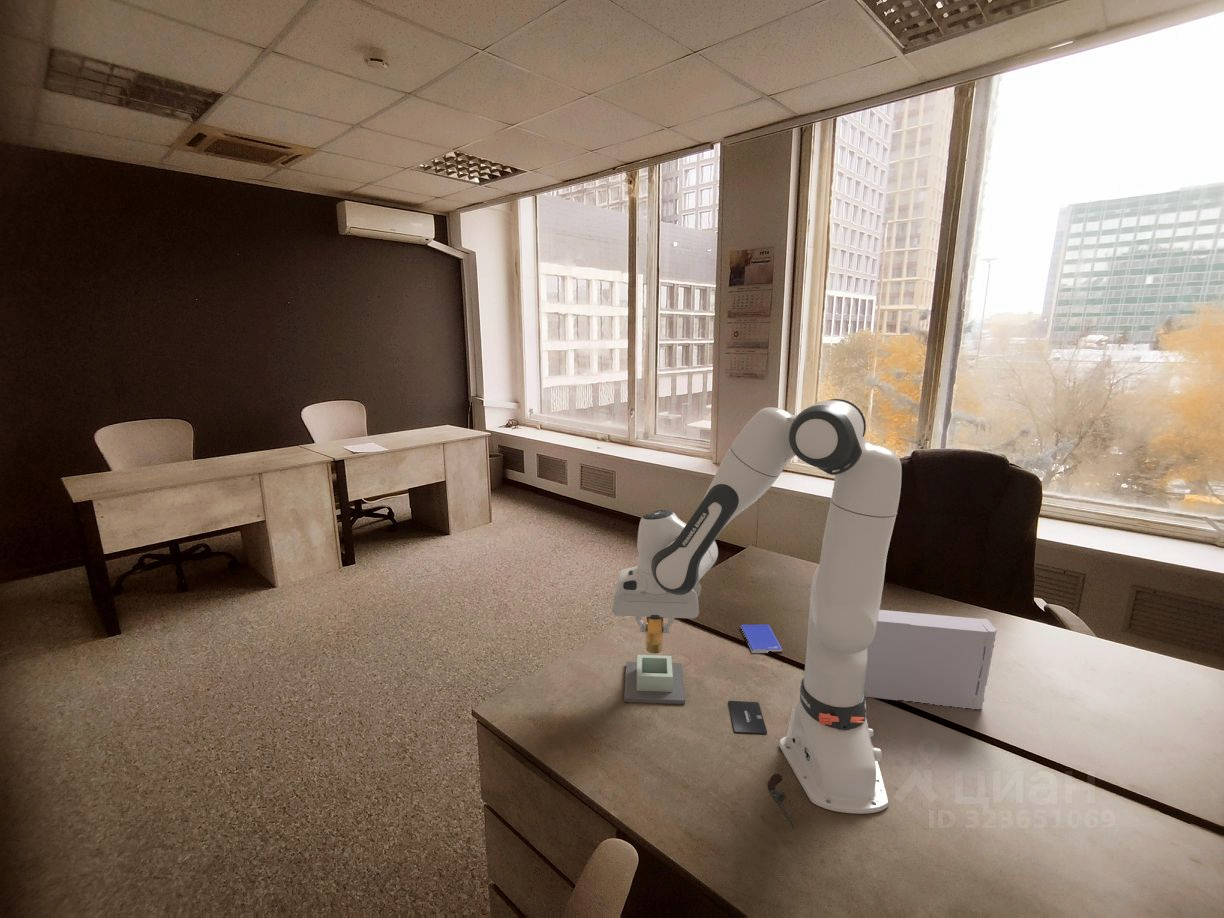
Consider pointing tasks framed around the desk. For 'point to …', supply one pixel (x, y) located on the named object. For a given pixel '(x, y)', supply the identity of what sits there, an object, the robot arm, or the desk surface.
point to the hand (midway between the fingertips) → (654, 631)
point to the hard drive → (760, 638)
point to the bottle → (654, 634)
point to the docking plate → (654, 680)
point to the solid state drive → (747, 717)
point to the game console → (930, 659)
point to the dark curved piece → (779, 795)
